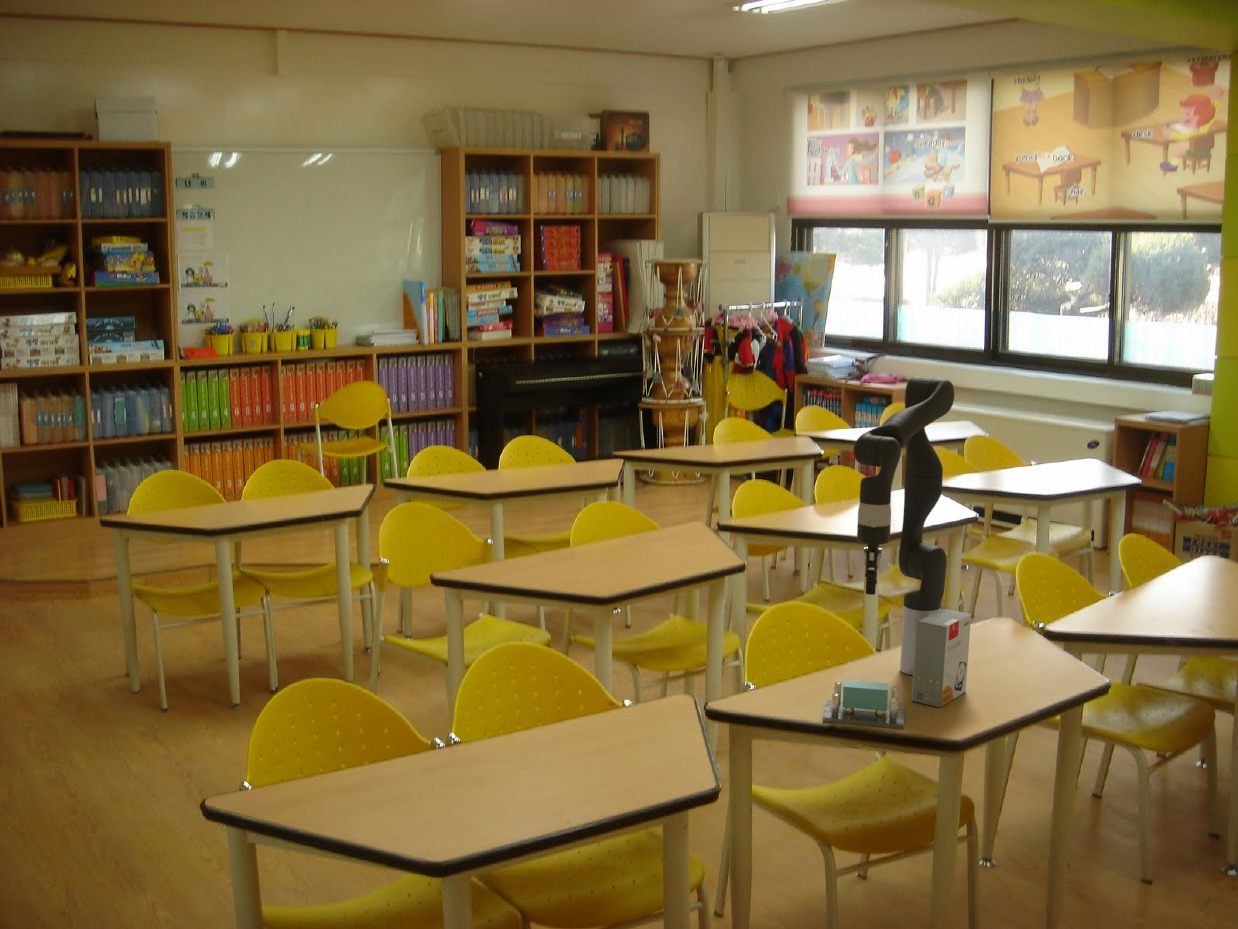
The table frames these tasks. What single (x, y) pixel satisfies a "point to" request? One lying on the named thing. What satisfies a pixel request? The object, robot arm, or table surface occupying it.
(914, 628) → the robot arm
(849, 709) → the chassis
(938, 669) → the hard drive box
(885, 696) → the green box
